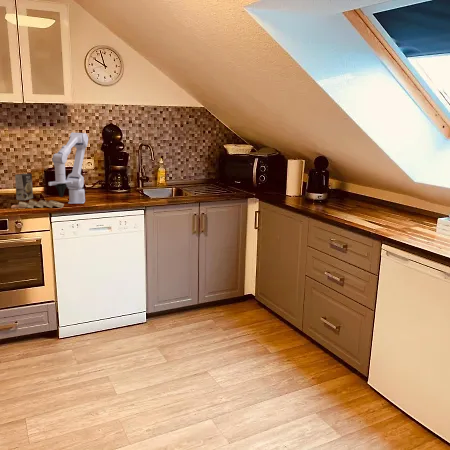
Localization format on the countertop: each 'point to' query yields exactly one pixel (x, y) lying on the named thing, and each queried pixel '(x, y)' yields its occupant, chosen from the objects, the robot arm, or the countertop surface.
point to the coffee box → (24, 186)
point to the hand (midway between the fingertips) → (61, 196)
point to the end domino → (17, 206)
